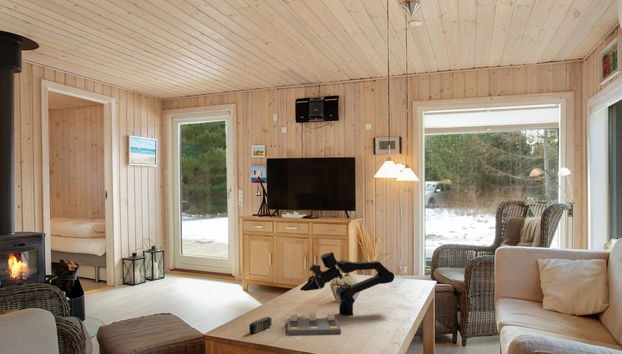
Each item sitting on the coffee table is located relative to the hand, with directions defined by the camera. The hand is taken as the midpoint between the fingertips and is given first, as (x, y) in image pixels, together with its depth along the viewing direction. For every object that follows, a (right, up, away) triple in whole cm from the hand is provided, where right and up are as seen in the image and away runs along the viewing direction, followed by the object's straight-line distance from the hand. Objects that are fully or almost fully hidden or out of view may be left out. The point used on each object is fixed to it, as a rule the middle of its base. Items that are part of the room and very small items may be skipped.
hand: (301, 289), depth 216 cm
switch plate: (+6, -14, -15) cm, 22 cm away
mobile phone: (-18, -14, -18) cm, 29 cm away
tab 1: (-4, -12, -11) cm, 16 cm away
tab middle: (+5, -12, -11) cm, 17 cm away
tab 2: (+14, -12, -10) cm, 21 cm away
